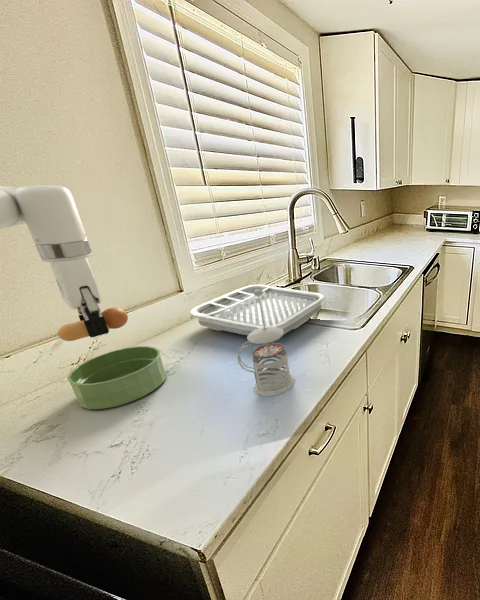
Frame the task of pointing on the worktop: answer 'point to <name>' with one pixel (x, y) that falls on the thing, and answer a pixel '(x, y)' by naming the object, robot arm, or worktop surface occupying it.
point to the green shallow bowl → (117, 377)
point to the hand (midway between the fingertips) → (96, 331)
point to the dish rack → (258, 309)
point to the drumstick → (78, 329)
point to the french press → (272, 377)
